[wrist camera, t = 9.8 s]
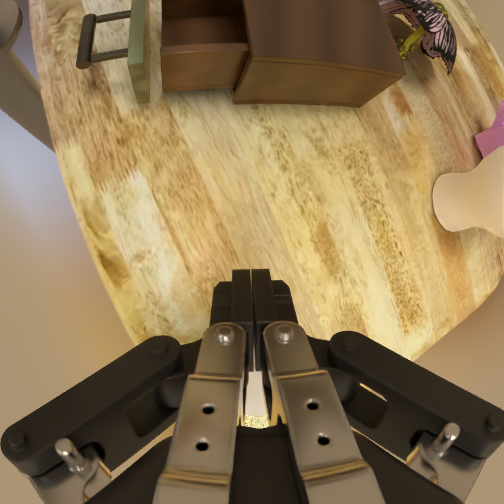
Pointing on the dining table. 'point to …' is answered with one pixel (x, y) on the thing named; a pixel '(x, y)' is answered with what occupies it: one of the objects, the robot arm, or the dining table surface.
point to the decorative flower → (425, 29)
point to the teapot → (492, 135)
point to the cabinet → (317, 53)
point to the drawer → (178, 45)
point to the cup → (473, 196)
